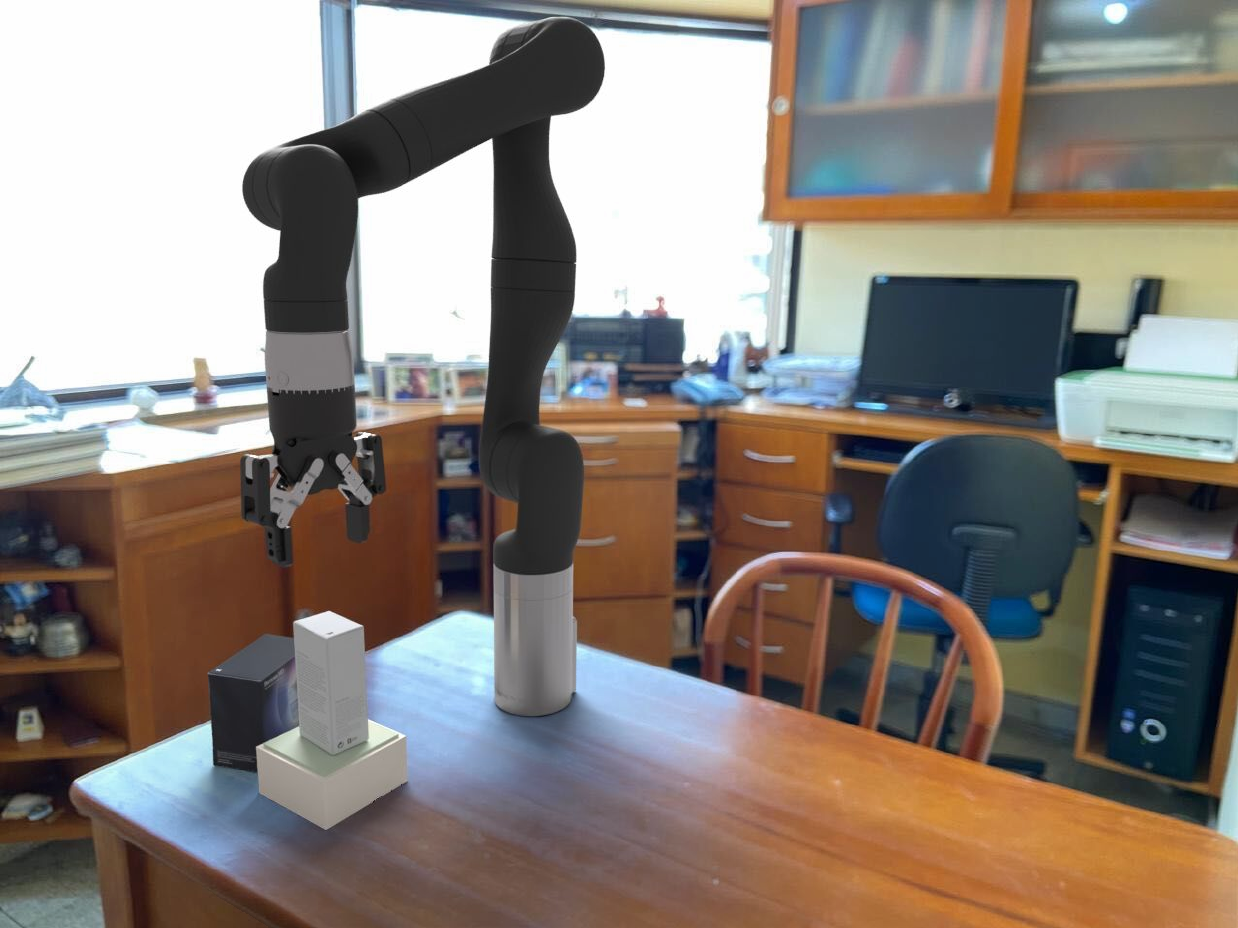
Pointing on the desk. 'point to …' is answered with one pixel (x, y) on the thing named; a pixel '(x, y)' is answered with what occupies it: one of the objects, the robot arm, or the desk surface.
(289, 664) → the small box
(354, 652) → the skincare box
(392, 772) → the cream rectangular block
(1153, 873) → the desk surface
